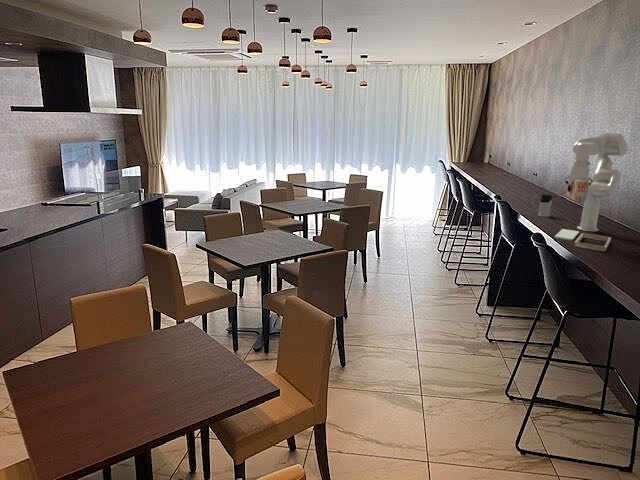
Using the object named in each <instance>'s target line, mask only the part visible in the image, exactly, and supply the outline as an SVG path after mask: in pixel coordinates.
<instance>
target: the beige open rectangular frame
mask: <svg viewBox="0 0 640 480" xmlns="http://www.w3.org/2000/svg"><path fill="white" fill-rule="evenodd" d="M583 238H584V239H589V240H590V239H591V240H596V241H604V242H606V243H605V244H604V246H602V245H598V244H597V245H596V244H591V243H583V242H581V241H582V239H583ZM611 240H612V237H610V236H604V235H598V234H597V235H596V234H592V233H591V234H589V233H581V234H580V235H579V236H578V237H577V238H576V239H575V241H574V242H573V247H574V248H583V249H587V250H593V251H601V252H606V250H607V249H608V247H609V245H610V243H611Z"/></svg>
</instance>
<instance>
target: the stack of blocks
mask: <svg viewBox="0 0 640 480" xmlns="http://www.w3.org/2000/svg"><path fill="white" fill-rule="evenodd" d="M567 181H568V182H570V181H569V180H567ZM589 182H590V180H588V181H587V180H581V179H574V182H572V183H571V188H570V192H568V191H567V190H566V193H565V196H567V197H568V198H570V199H571V200H572V201H574V202H580V203H581V202H583V203H584V202H585V201H586V195H587V191H588V186H589ZM566 185H567V184H566ZM567 188H568V185H567ZM567 188H566V189H567Z"/></svg>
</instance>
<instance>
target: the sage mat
mask: <svg viewBox="0 0 640 480" xmlns="http://www.w3.org/2000/svg"><path fill="white" fill-rule="evenodd" d="M579 234H580V230H579V231H577V230H571V229H565V228H562V229H560V230H559V232H557V233H556V234H555V236H554V239H559V240H566V241H574V239H575V238H576V237H577V236H578V235H579Z"/></svg>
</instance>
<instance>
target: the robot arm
mask: <svg viewBox="0 0 640 480" xmlns="http://www.w3.org/2000/svg"><path fill="white" fill-rule="evenodd" d="M627 144H628V143H627V141H626V139H625V137H624V136H623V134H621V133H617V132H616V133H615V132H603V133H601V134H598V135H597V136H595V137H593V136H592V137H589V138H583V139H580V140H577V141H576V142H575V143H574V144H573V145H572V152H573V153H574V155H575V156H574V163H573V165H572V167H571V170H570V173H569V175H568V176H566V177H564V178H563V181H564V182H565V184H566V185H568V188H566V192H567V191H568V192H570V188H571V183H572V182H574V179H581V180H587V181H589V186H588V191H587V195H586V201H585V202H583V207H582V212H581V217H580V223H579V224H580V225H578V226H576V230H577V229H578V230H579V231H584V232H594V233H595V232H598V231H599V228H598V227H597V224H598V218H599V214H600V208H601V203H600V200H599V199H606V200H610V199H613V197H615V194H616V192H617V189H618V187H619V184H620V182H621V179H622V173H621V171H620V170H618V169H613V164H614V163H613V160H612V159H611V157H612V156H614V157H623V156H625V155H627V153H628V145H627ZM595 155H597V158H598V162H597V166H596V167H595V169H594V172H593V174H592V178H591V177H590V166H591V165H592V162H590V161H589V160H590V156H595ZM610 156H611V157H610ZM568 181H570V182H568Z"/></svg>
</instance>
